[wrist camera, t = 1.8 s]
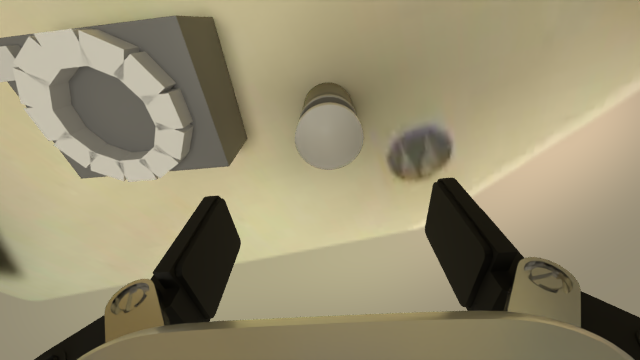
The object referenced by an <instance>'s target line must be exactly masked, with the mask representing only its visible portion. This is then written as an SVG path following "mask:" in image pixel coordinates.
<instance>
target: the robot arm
mask: <svg viewBox="0 0 640 360" xmlns="http://www.w3.org/2000/svg"><path fill="white" fill-rule="evenodd" d="M425 233H426V236H427V238H428V240H429V242H430V244H431V246H432V248H433V250H434V252H435V254H436V256H437V258H438V260H439V262H440V264H441V266H442V268H443V270H444V272H445V274H446V277H447V279H448V281H449V283H450V285H451V287H452V288H453V291H454V293H455V295H456V297H457V299H458V301H459V303H460V304H461V306H463V307H466V308H467V310H468V311H445V312H444V311H442V312H415V313H387V314H363V315H340V316H317V317H295V318H273V319H253V320H233V321H215V322H209V321H210V319H211V318H213V317H214V316H215V314H216V311H217V309H218V306H219V303H220V300H221V298H222V295H223V292H224V290H225V287H226V284H227V282H228V279H229V276H230V273H231V271H232V268H233V265H234V263H235V260H236V257H237V254H238V252H239V249H240V245H241V241H240V238H239V235H238V233H237V230H236V228H235V225H234V223H233V220H232V218H231V215H230V213H229V210H228V207H227V205H226V202H225V200H224V199H221V198H220V197H219V196H208V197H204V198H203V200H202V201H201V203H200V204H199V206H198V207H197V209H196V210H195V212H194V213H193V215H192V216H191V217H190V219H189V220H188V222H187V223H186V225H185V226H184V228H183V229H182V231H181V232H180V233H179V235H178V236H177V238H176V239H175V241H174V242H173V244H172V245H171V247H170V248H169V250H168V251H167V252H166V254H165V255H164V257H163V258H162V260H161V261H160V263H159V264H158V266H157V267H156V269H155V270H154V271H153V274H154V275H153V277H152V278H151V280H149V279H140V280H136V281H133V282H131V283H129V284H127V285H126V286H124V287H122V288H121V289H120V290H119V291H118V292H116V293H115V294H114V295H113V297H112V298H111V299H110V300H109V302H108V304H107V305H106V308H105V315H104V316H102V317H101V318H99V319H97V320H96V321H94V322H93V323H91V324H89V325H88V326H86V327H85V328H83V329H81V330H80V331H78V332H77V333H75V334H73V335H72V336H70V337H69V338H67V339H65V340H64V341H62V342H60V343H59V344H57V345H56V346H54V347H52V348H51V349H49V350H48V351H46V352H44V353H43V354H42V355H40V356H39V357H37V358H36V359H34V360H640V318H639V317H637V316H635V315H632V314H630V313H628V312H626V311H624V310H622V309H619V308H617V307H615V306H613V305H610V304H608V303H606V302H604V301H602V300H599V299H597V298H595V297H592V296H590V295H588V294H586V293H584V292H581V289H580V286H579V283H578V282H577V280H576V279H575V277H574V276H573V275H572V274H571V273H570V272H568V271H567V270H566V269H564V268H563V267H561V266H560V265H558V264H556V263H553V262H551V261H549V260H546V259H542V258H537V257H528V258H524V257H523V256H522V255H521V254H520V253H519V251H518V250H517V249H516V248H515V247H514V246H513V244H512V243H511V242H510V241H509V240H508V239H507V238H506V236H505V235H504V234H503V233H502V232H501V231H500V230H499V228H498V227H497V226H496V225H495V224H494V223H493V221H492V220H491V219H490V218H489V217H488V216H487V215H486V213H485V212H484V211H483V210H482V209H481V208H480V207H479V206H478V205H477V204H476V202H475V201H474V200H473V199H472V198H471V197H470V195H469V194H468V193H467V192H466V191H465V190H464V189H463V187H462V186H461V185H460V184H459V183H458V182H457V180H456V179H455V178H442V179H438V181H437V182H435V183H434V184H433V188H432V193H431V199H430V204H429V209H428V215H427V220H426V225H425Z"/></svg>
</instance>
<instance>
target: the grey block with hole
mask: <svg viewBox="0 0 640 360" xmlns="http://www.w3.org/2000/svg"><path fill="white" fill-rule="evenodd" d="M6 81H7V82H8V83H9V85H10V86H11V87H12V88H13V90H14V91H15V92H16V94H17V95H18V96H19V98H20V102H21V103H22V104H24V105H26V107H27V108H24V110H25V111H26V112H27V114H28V115H29V116H30V118H31V119H32V120H33V121H34V123H35V124H36V125H37V127H38V128H39V129H40V131H41V132H42V133H43V134H44V136H45V137H46V138H47V140H48V141H53V142H54V143H55V144H54V145H53V146H55V147H56V148H58V149H59V150H60V151H61V153H62V154H63V155H64V156H65V158H66V159H67V160H68V162H69V163H70V164H71V166H72V167H73V168H74V170H75V171H76V172H77V173H78V175H79V176H80V177H81V178H93V177H105V176H109V177H112V178H115V179H118V180H122V181H125V180H126V179H127V180H128V182H133V181H145V180H157V179H158V178H161V177H162V176H164V175H165V174H166V173H167V172H168V171H178V170H190V169H202V168H214V167H226V166H230V164H231V163H232V161H233V160H234V158H235V157H236V155H237V154H238V152H239V150H240V149H241V147H242V146H243V144H244V143H245V141H246V140H247V136H246V133H245V129H244V126H243V122H242V119H241V115H240V112H239V108H238V105H237V101H236V98H235V94H234V91H233V87H232V84H231V80H230V77H229V73H228V70H227V66H226V63H225V59H224V56H223V52H222V49H221V45H220V42H219V38H218V35H217V31H216V28H215V24H214V21H213V18H212V17H193V16H169V17H161V18H153V19H145V20H138V21H130V22H122V23H114V24H106V25H98V26H91V27H83V28H75V29H65V30H58V31H50V32H42V33H34V34H28V35H20V36H12V37H4V38H0V82H6Z"/></svg>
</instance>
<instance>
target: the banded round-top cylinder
mask: <svg viewBox="0 0 640 360" xmlns="http://www.w3.org/2000/svg"><path fill="white" fill-rule="evenodd" d="M363 139H364V135H363V129H362V126H361V124H360V121H359V119H358V117H357V114H356V112H355V110H354V108H353V105H352V102H351V99H350V96H349V95H348V93H347V92H346V90H345V89H344V88H342V87H341V86H339V85H337V84H334V83H322V84H319V85H317V86H315V87H314V88H313V89H311V90H310V92H309V93H308V94H307V96H306V99H305V102H304V106H303V110H302V112H301V115H300V120H299V122H298V125H297V128H296V133H295V144H296V148H297V150H298V152H299V154H300V155H301V157H302V158H303V159H304V160H305V161H306V162H307V163H309V164H310V165H312V166H314V167H317V168H320V169H326V170H332V169H338V168H341V167H344V166H346V165H348V164H349V163H350V162H352V161H353V160H354V159H355V158H356V157H357V155H358V154H359V152H360V150H361V148H362V145H363Z"/></svg>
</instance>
